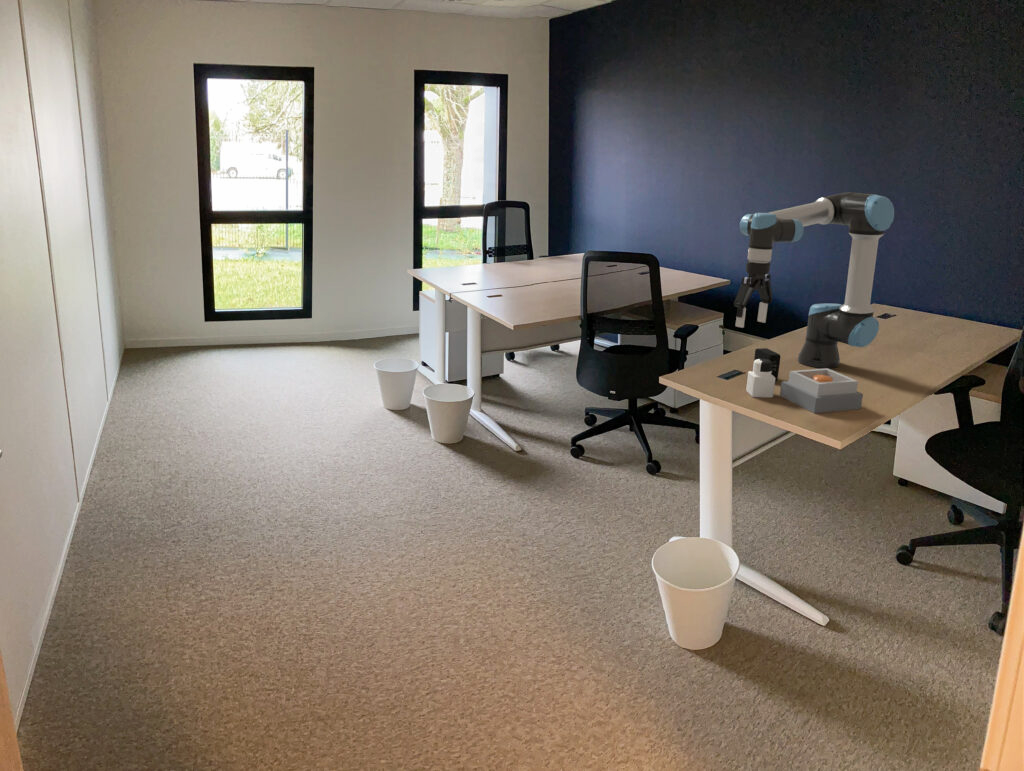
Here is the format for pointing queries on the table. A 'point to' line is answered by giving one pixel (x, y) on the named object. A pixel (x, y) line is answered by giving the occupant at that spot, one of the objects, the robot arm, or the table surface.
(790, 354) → the table surface
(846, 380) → the grey open box
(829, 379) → the button
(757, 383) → the medicine bottle
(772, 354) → the electronic device
